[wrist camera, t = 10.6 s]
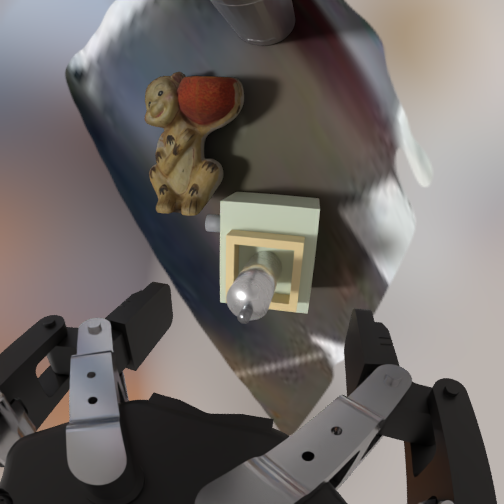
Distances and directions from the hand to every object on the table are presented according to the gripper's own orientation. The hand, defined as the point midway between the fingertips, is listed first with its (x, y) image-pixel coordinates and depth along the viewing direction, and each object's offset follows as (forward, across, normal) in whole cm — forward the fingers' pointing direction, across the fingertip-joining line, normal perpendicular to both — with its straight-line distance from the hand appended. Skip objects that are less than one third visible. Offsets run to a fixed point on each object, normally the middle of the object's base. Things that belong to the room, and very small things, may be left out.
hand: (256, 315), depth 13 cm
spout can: (+24, +3, +8) cm, 25 cm away
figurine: (+32, +15, -8) cm, 37 cm away
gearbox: (+32, +5, +7) cm, 33 cm away
